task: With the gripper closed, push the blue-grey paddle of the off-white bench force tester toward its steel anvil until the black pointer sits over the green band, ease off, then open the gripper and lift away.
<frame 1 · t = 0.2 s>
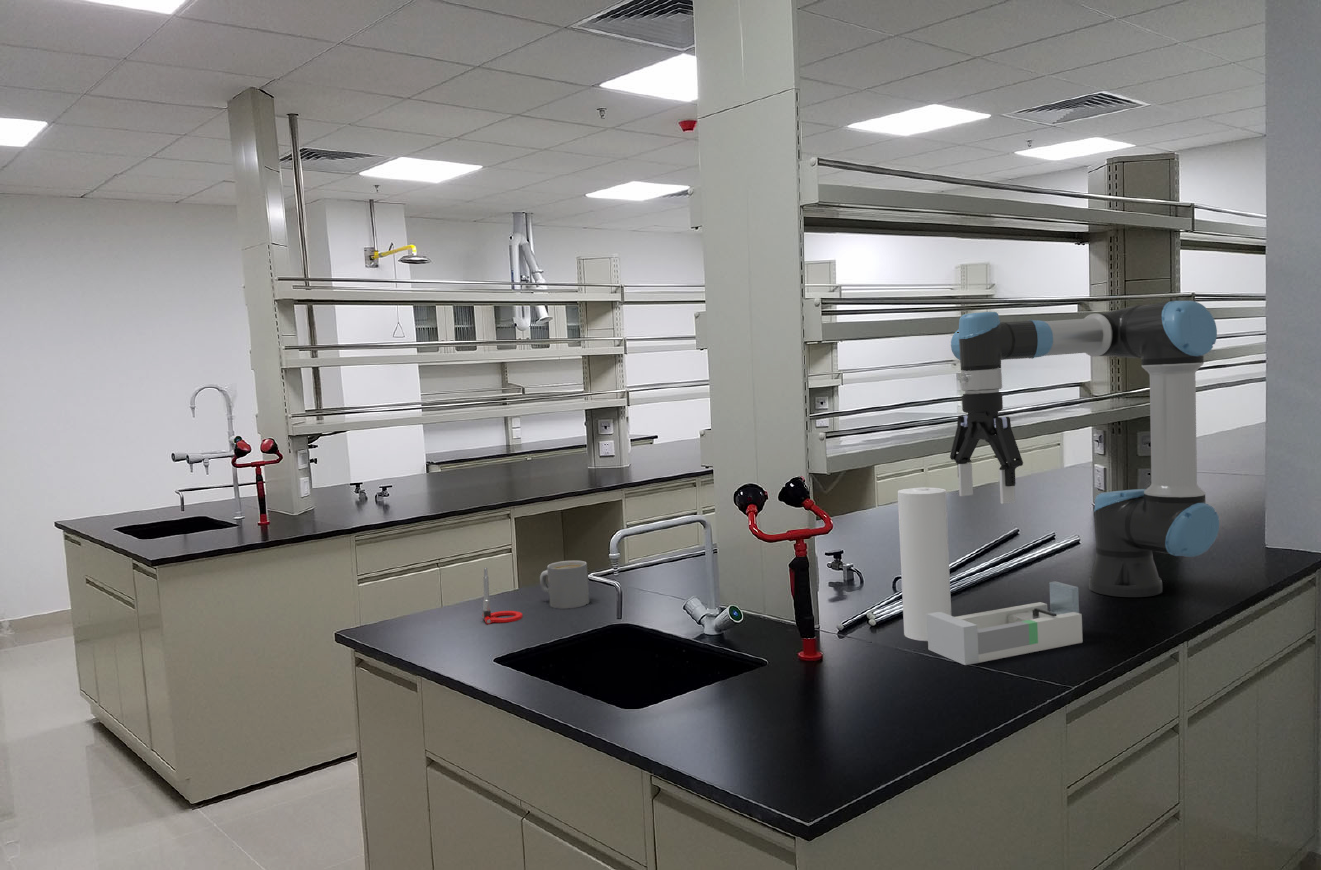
hand: (986, 499, 182), 28 cm above the worktop, tool pointing down, fingers open, 13 cm apart
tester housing: (1011, 644, 178), on the worktop
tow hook: (503, 619, 223), on the worktop
coffee mug: (565, 603, 235), on the worktop
plunger: (1038, 611, 178), point 6 cm above the worktop, slide at 0.0 cm
cylinder container: (928, 635, 188), on the worktop
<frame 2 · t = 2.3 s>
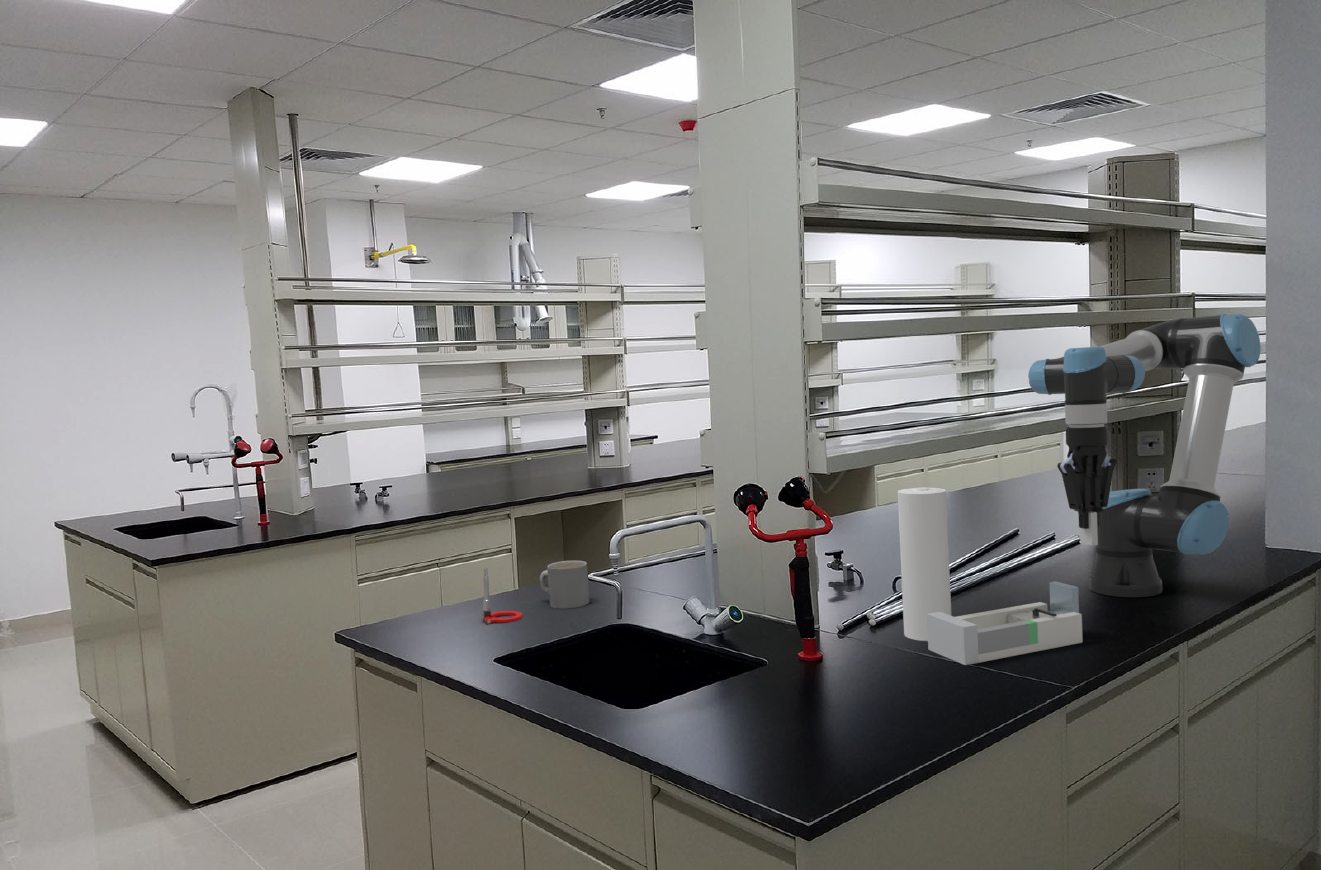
hand: (1089, 544, 183), 17 cm above the worktop, tool pointing down, fingers closed
nothing on the worktop moved.
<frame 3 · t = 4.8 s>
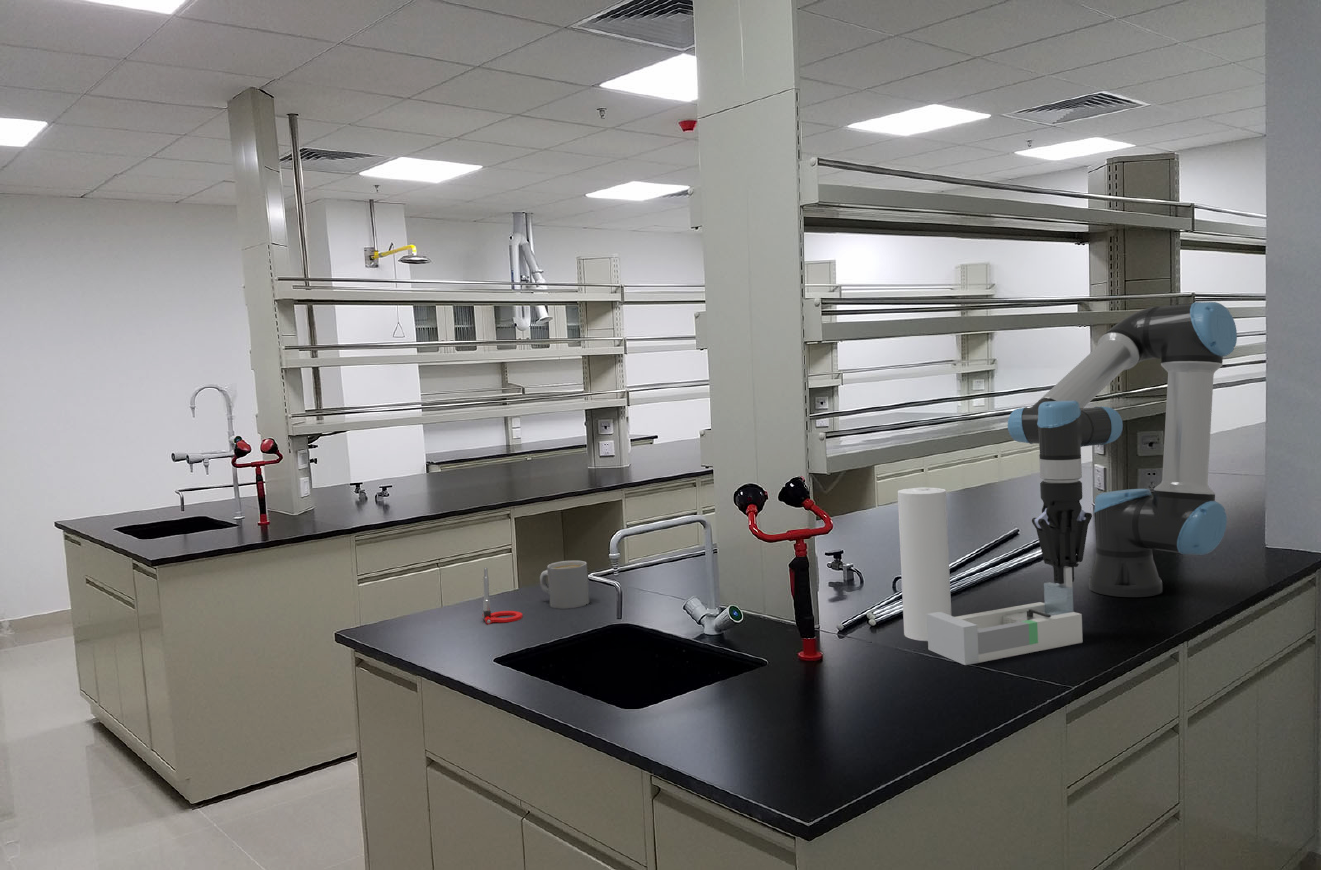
hand: (1064, 599, 182), 7 cm above the worktop, tool pointing down, fingers closed
plunger: (1033, 612, 178), point 6 cm above the worktop, slide at 1.4 cm, touching gripper
everything else where it was.
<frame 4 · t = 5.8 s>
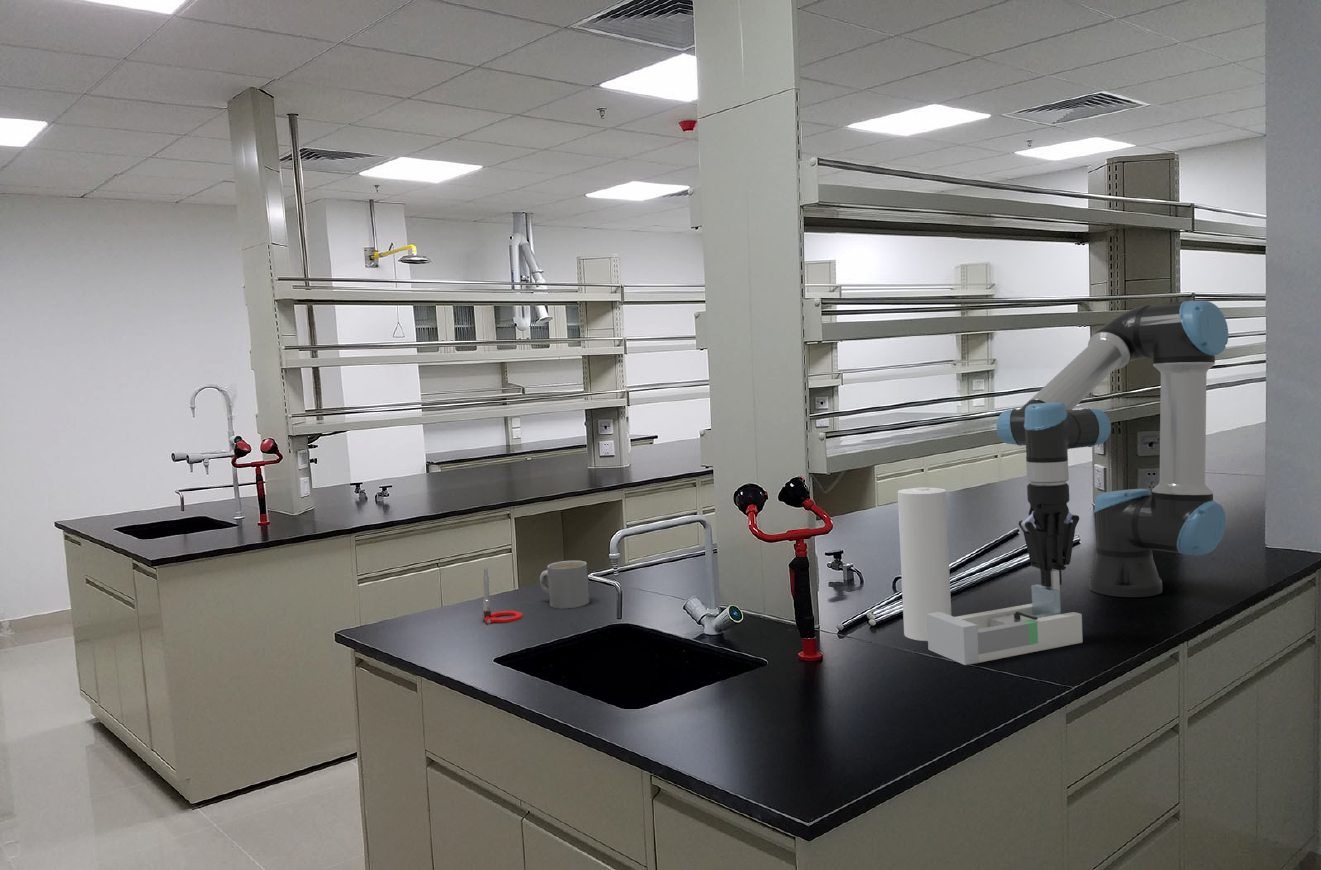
hand: (1052, 602, 181), 7 cm above the worktop, tool pointing down, fingers closed
plunger: (1020, 614, 177), point 6 cm above the worktop, slide at 4.4 cm, touching gripper
everything else where it was.
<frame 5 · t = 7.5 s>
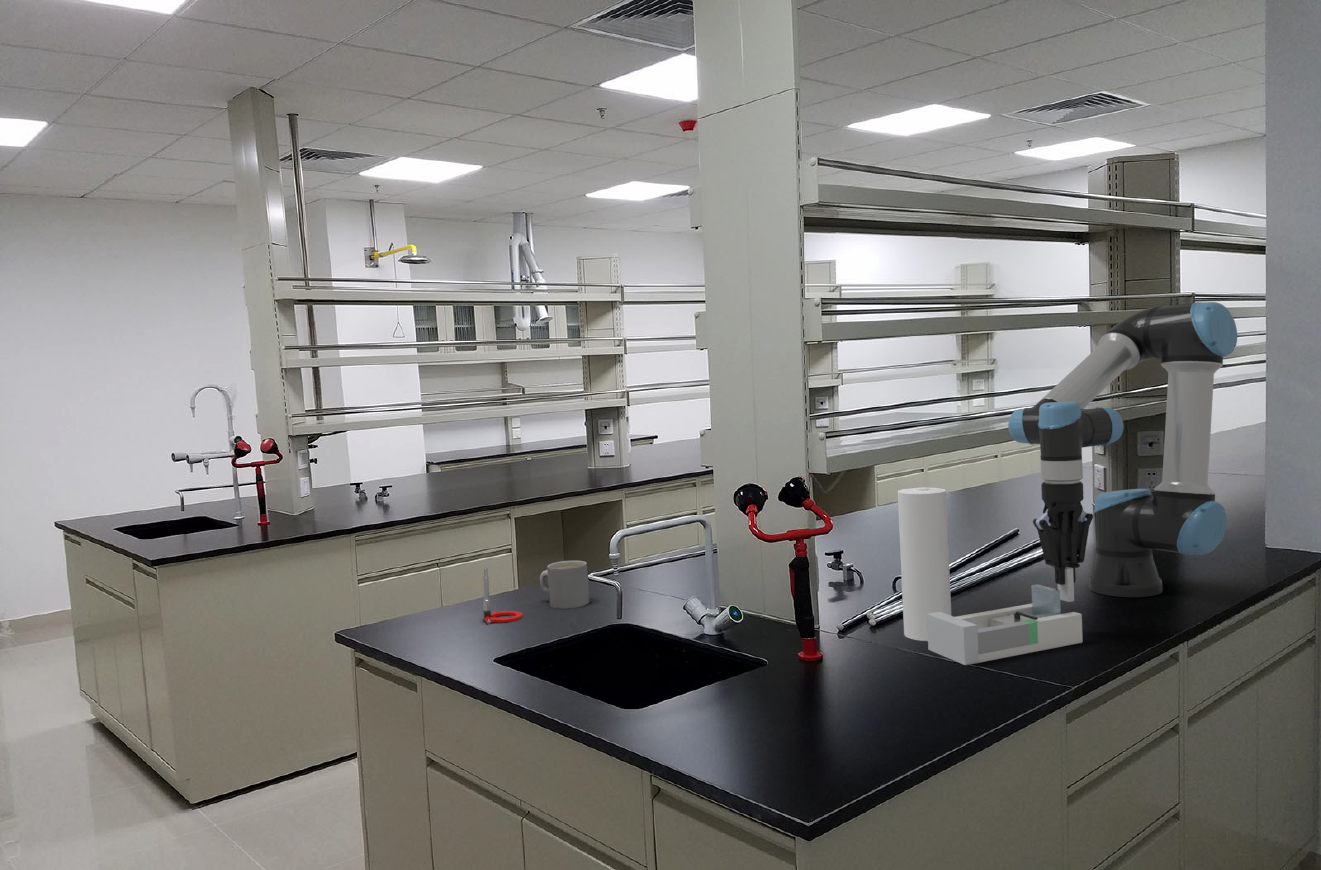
hand: (1066, 599, 182), 7 cm above the worktop, tool pointing down, fingers closed
plunger: (1020, 614, 177), point 6 cm above the worktop, slide at 4.4 cm
everything else where it was.
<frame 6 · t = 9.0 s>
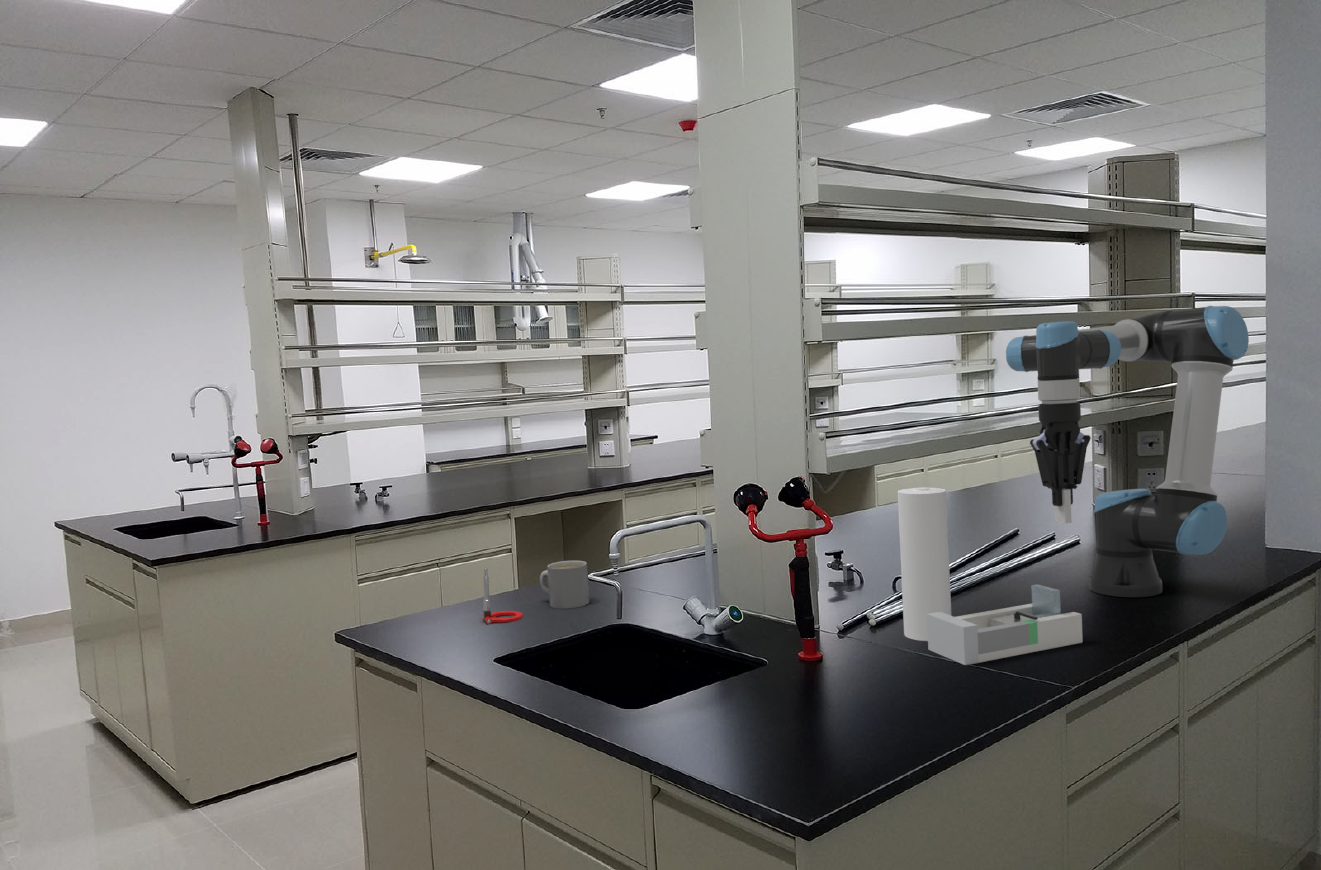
hand: (1063, 521, 181), 22 cm above the worktop, tool pointing down, fingers closed
nothing on the worktop moved.
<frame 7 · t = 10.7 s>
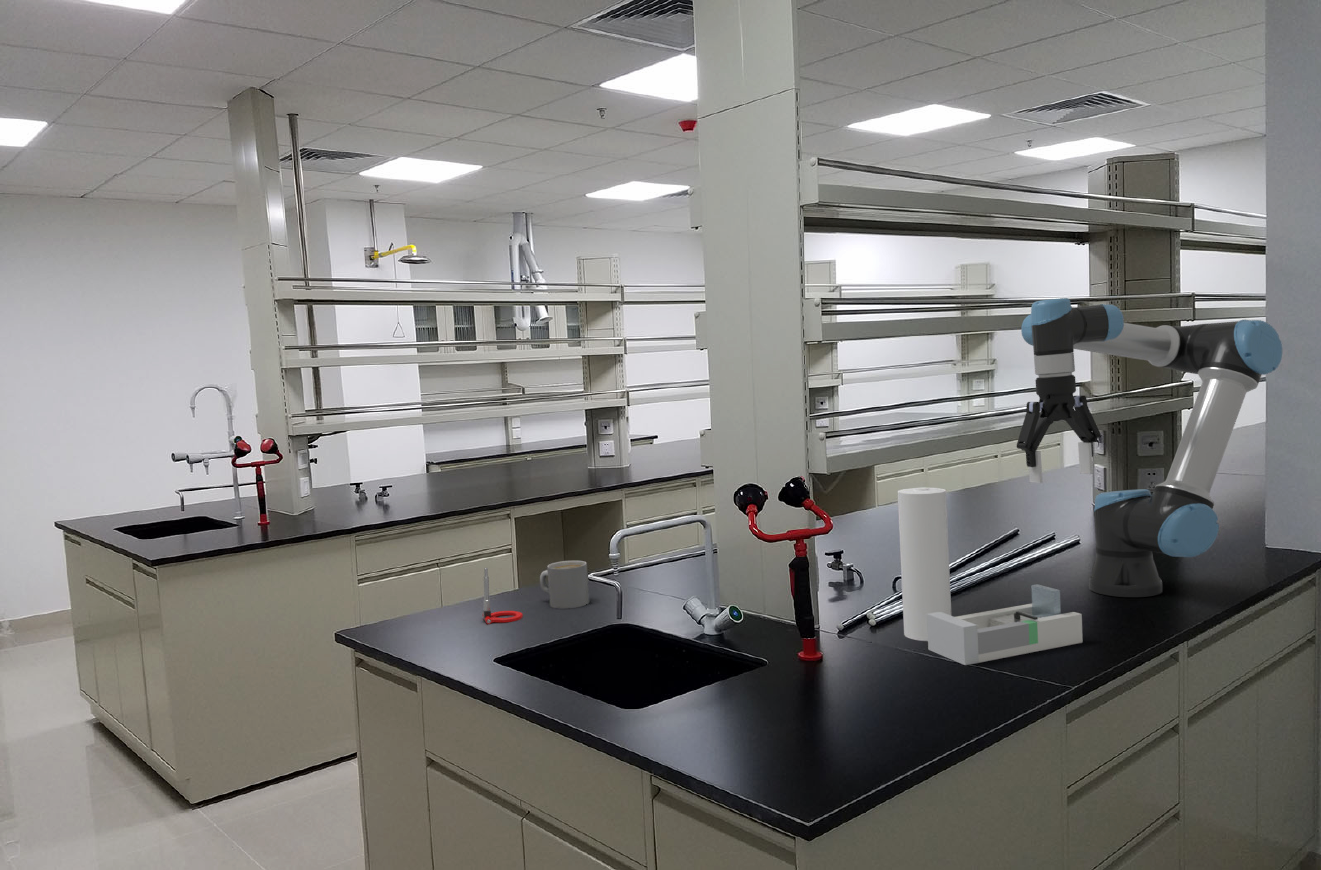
hand: (1061, 478, 190), 30 cm above the worktop, tool pointing down, fingers open, 13 cm apart
nothing on the worktop moved.
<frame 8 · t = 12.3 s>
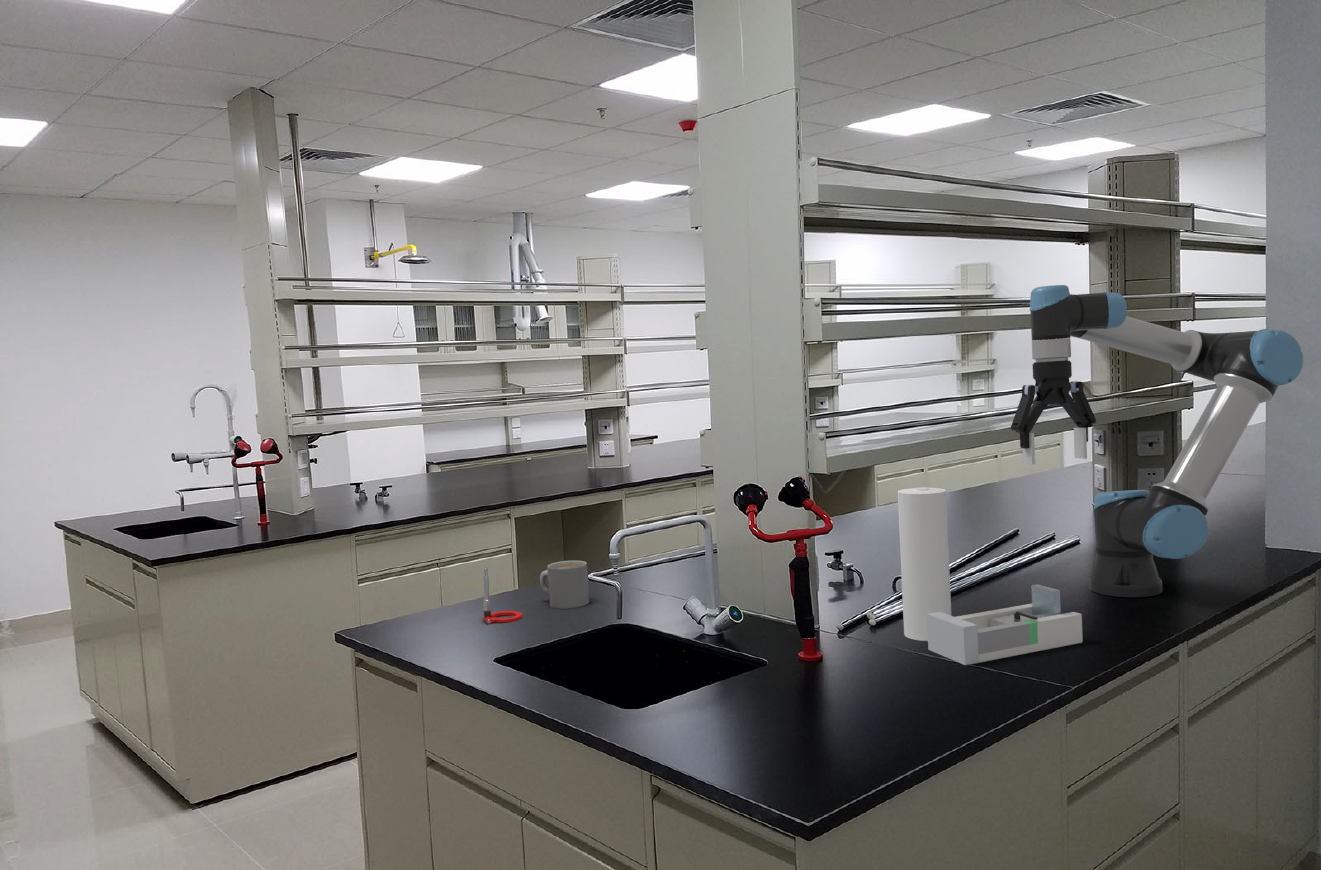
hand: (1055, 461, 195), 33 cm above the worktop, tool pointing down, fingers open, 13 cm apart
nothing on the worktop moved.
at the end: plunger slide at 4.4 cm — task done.
